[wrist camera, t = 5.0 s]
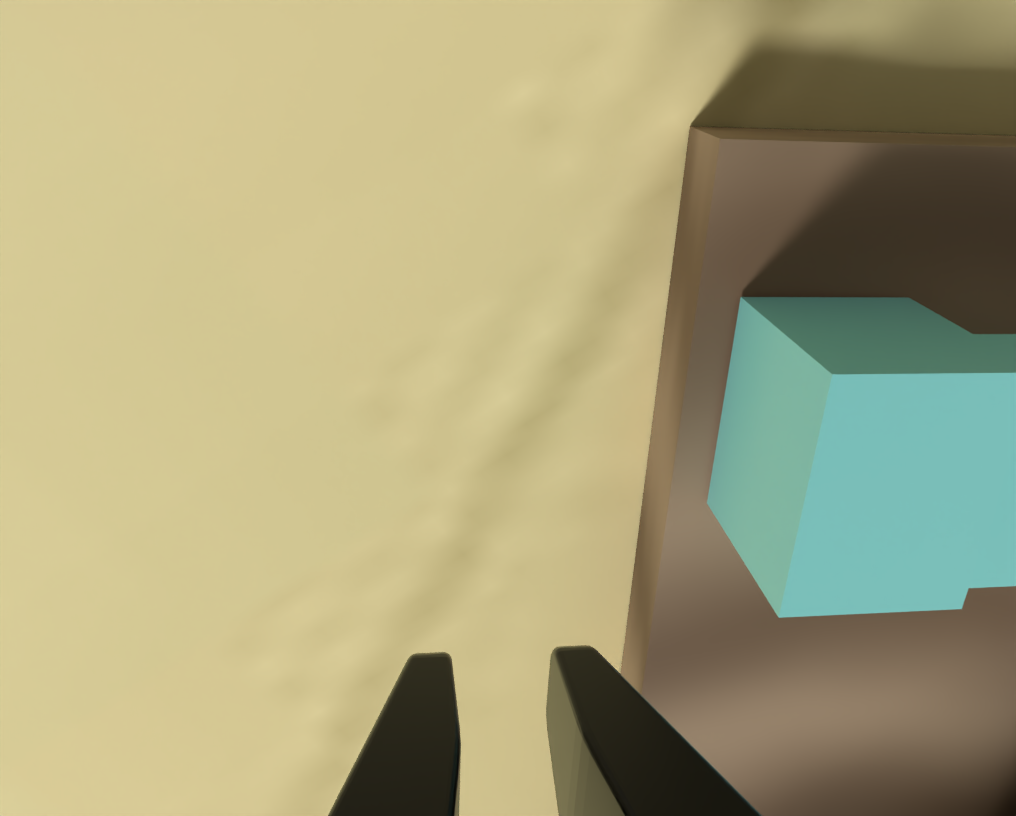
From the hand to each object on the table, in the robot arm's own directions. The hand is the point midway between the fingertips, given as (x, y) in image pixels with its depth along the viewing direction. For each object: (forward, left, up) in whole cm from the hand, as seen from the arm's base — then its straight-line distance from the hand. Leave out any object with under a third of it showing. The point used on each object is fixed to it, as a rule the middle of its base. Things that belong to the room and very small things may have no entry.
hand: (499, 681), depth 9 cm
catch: (0, -9, -6) cm, 11 cm away
